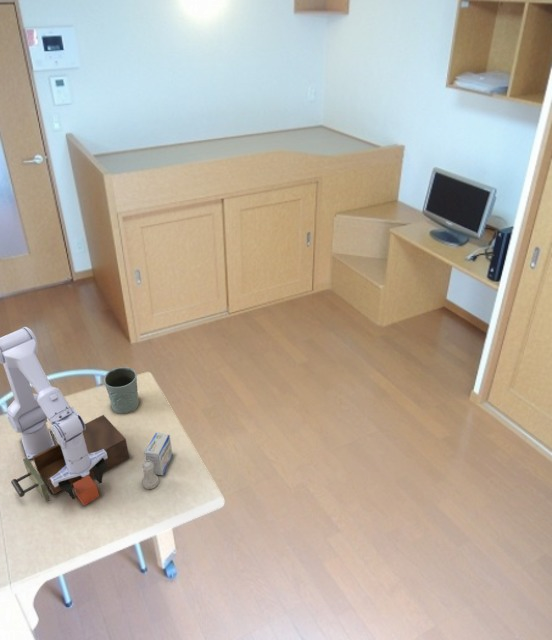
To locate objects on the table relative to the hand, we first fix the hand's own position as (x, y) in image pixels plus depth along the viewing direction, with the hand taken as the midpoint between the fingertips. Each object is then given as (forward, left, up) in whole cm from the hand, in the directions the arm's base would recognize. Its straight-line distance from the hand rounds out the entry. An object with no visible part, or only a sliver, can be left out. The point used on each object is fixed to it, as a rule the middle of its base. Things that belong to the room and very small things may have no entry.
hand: (85, 488), depth 141 cm
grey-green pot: (-30, +21, -3) cm, 37 cm away
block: (0, 0, -3) cm, 3 cm away
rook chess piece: (+5, +16, -3) cm, 17 cm away
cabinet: (-13, +6, -3) cm, 14 cm away
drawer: (-10, -7, -2) cm, 13 cm away
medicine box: (0, +21, -3) cm, 21 cm away
